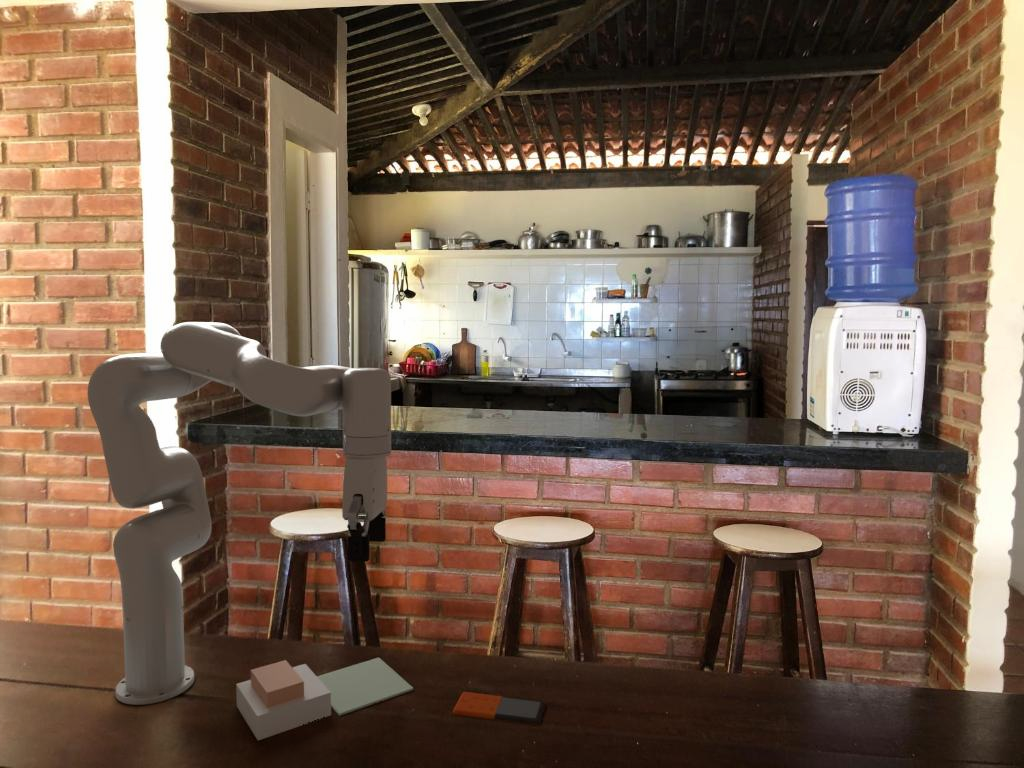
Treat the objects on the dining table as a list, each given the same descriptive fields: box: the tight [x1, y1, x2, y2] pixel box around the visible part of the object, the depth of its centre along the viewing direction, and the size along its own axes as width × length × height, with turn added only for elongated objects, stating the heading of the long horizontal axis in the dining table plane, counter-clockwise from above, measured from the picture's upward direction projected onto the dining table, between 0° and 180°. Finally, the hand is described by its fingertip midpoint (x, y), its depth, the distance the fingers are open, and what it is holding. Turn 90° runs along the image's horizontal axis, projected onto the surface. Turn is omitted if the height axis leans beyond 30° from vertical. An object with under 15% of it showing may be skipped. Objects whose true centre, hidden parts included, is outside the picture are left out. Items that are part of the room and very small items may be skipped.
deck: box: [235, 663, 332, 741], centre depth 115 cm, size 12×12×4 cm
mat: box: [316, 657, 414, 717], centre depth 123 cm, size 14×14×1 cm
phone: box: [452, 691, 546, 726], centre depth 116 cm, size 6×1×15 cm
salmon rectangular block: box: [250, 659, 304, 708], centre depth 114 cm, size 9×6×2 cm, turn 37°
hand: (367, 550), depth 109 cm, fingers open, 9 cm apart
